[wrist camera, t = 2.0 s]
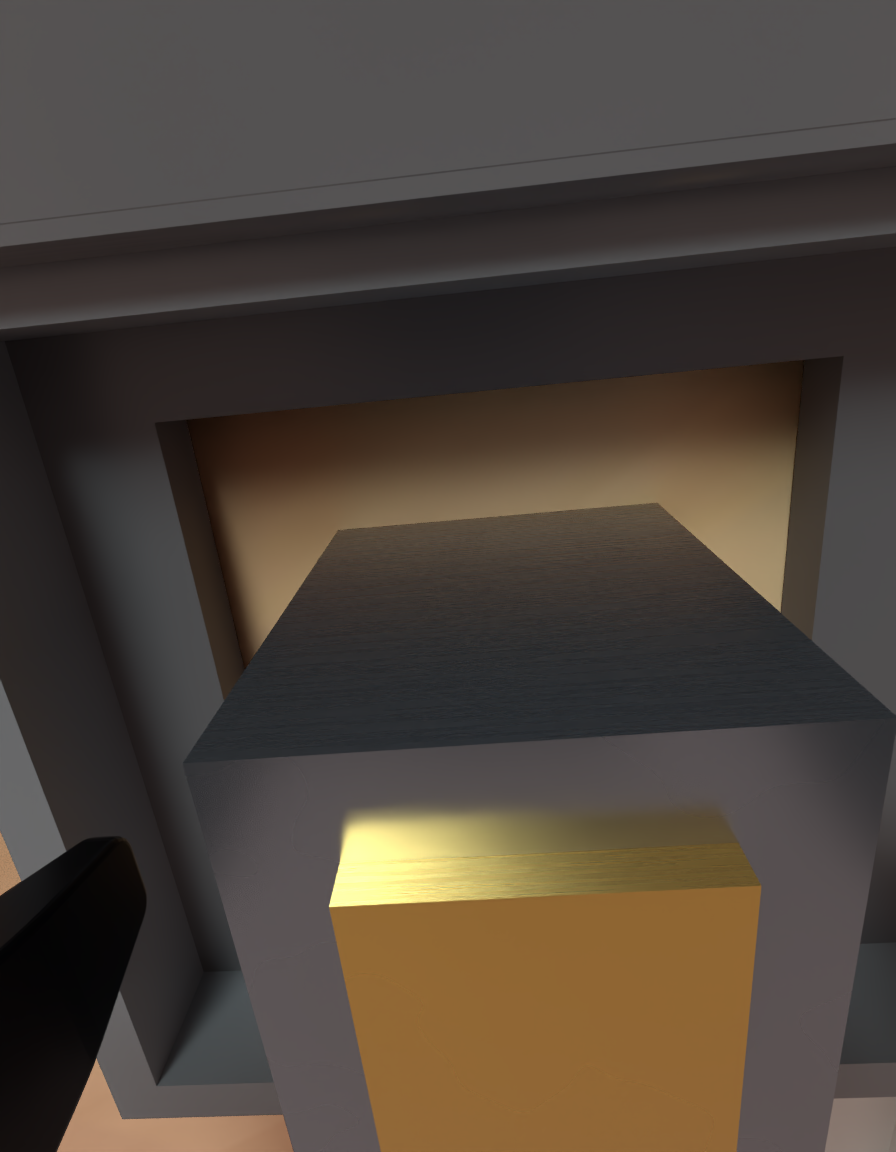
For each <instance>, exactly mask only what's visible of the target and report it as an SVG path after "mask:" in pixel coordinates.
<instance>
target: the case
mask: <svg viewBox="0 0 896 1152" xmlns="http://www.w3.org/2000/svg"><path fill="white" fill-rule="evenodd" d="M797 360H804V370H803V381H802V391H801V402H800V413H799V424H798V435H797V446H796V457H795V467H794V478H793V489H792V500H791V511H790V522H789V533H788V543H787V554H786V565H785V576H784V587H783V598H782V609H781V614H782V615H784V616H785V617H786V618H787V619H788V620H789V621H790V622H791V623H793V624H794V625H795V626H796V627H797V628H798V629H799V630H800V631H802V632H803V633H804V634H805V635H806V636H807V637H808V638H809V639H811V640H812V641H813V642H814V643H815V644H816V645H817V646H818V647H819V648H821V649H822V650H823V651H824V652H825V653H826V654H827V655H828V656H830V657H831V658H832V659H833V660H834V661H835V662H836V663H837V664H839V665H840V666H841V667H842V668H843V669H844V670H845V671H846V672H848V673H849V674H850V675H851V676H852V677H853V678H854V679H855V680H857V681H858V682H859V683H860V684H861V685H862V686H863V687H864V688H865V689H867V690H868V691H869V692H870V693H871V694H872V695H873V696H874V697H876V698H877V699H878V700H879V701H880V702H881V703H882V704H883V705H885V706H886V707H887V708H888V709H889V710H890V711H891V712H892V713H894V714H895V715H896V0H0V831H1V834H2V836H3V838H4V841H5V843H6V845H7V848H8V850H9V853H10V855H11V857H12V860H13V862H14V864H15V867H16V869H17V871H18V874H19V876H20V879H21V881H23V880H24V879H26V878H27V877H29V876H30V875H32V874H33V873H35V872H36V871H38V870H39V869H41V868H42V867H44V866H45V865H47V864H48V863H50V862H51V861H53V860H54V859H56V858H57V857H59V856H60V855H62V854H63V853H64V852H66V851H67V850H69V849H70V848H72V847H73V846H75V845H76V844H78V843H79V842H81V841H83V840H85V839H87V838H92V837H107V836H121V837H124V838H126V839H127V840H128V841H129V842H130V844H131V847H132V850H133V852H134V855H135V858H136V861H137V864H138V867H139V870H140V873H141V876H142V879H143V882H144V885H145V888H146V893H147V907H146V913H145V917H144V920H143V923H142V926H141V929H140V932H139V935H138V938H137V941H136V944H135V947H134V949H133V952H132V955H131V958H130V961H129V964H128V967H127V970H126V973H125V976H124V979H123V982H122V985H121V988H120V991H119V994H118V997H117V1000H116V1003H115V1006H114V1009H113V1012H112V1015H111V1018H110V1021H109V1024H108V1027H107V1030H106V1032H105V1035H104V1038H103V1041H102V1044H101V1047H100V1049H99V1052H98V1055H97V1060H98V1063H99V1065H100V1068H101V1070H102V1072H103V1075H104V1077H105V1079H106V1082H107V1084H108V1086H109V1089H110V1091H111V1094H112V1096H113V1098H114V1101H115V1103H116V1105H117V1108H118V1110H119V1112H120V1115H121V1117H122V1119H145V1118H179V1117H214V1116H249V1115H283V1112H282V1109H281V1105H280V1102H279V1098H278V1095H277V1091H276V1088H275V1084H274V1081H273V1077H272V1074H271V1070H270V1067H269V1064H268V1060H267V1057H266V1053H265V1050H264V1046H263V1043H262V1039H261V1036H260V1032H259V1029H258V1025H257V1022H256V1018H255V1015H254V1011H253V1008H252V1004H251V1001H250V997H249V994H248V990H247V987H246V983H245V980H244V976H243V973H242V969H241V966H240V962H239V959H238V955H237V952H236V948H235V945H234V942H233V938H232V935H231V931H230V928H229V924H228V921H227V917H226V914H225V910H224V907H223V903H222V900H221V896H220V893H219V889H218V886H217V882H216V879H215V875H214V872H213V868H212V865H211V861H210V858H209V854H208V851H207V847H206V844H205V840H204V837H203V833H202V830H201V827H200V823H199V820H198V816H197V813H196V809H195V806H194V802H193V799H192V795H191V792H190V788H189V785H188V781H187V778H186V774H185V771H184V767H183V764H182V763H183V762H184V760H185V759H186V757H187V756H188V754H189V753H190V751H191V750H192V748H193V747H194V745H195V744H196V742H197V741H198V739H199V738H200V736H201V735H202V733H203V732H204V730H205V729H206V727H207V726H208V724H209V723H210V721H211V720H212V718H213V717H214V715H215V714H216V712H217V711H218V709H219V708H220V706H221V705H222V703H223V702H224V700H225V699H226V697H227V696H228V694H229V693H230V691H231V690H232V688H233V687H234V685H235V684H236V682H237V681H238V679H239V678H240V676H241V675H242V673H243V672H244V665H243V661H242V657H241V653H240V648H239V644H238V640H237V635H236V631H235V627H234V622H233V618H232V614H231V610H230V605H229V601H228V597H227V592H226V588H225V584H224V579H223V575H222V571H221V567H220V562H219V558H218V554H217V549H216V545H215V541H214V536H213V532H212V528H211V523H210V519H209V515H208V511H207V506H206V502H205V498H204V493H203V489H202V485H201V480H200V476H199V472H198V468H197V463H196V459H195V455H194V450H193V446H192V442H191V437H190V433H189V429H188V425H187V419H197V418H208V417H218V416H228V415H239V414H249V413H259V412H270V411H280V410H290V409H301V408H311V407H321V406H332V405H342V404H352V403H363V402H373V401H384V400H394V399H404V398H415V397H425V396H435V395H446V394H456V393H466V392H477V391H487V390H497V389H508V388H518V387H528V386H539V385H549V384H559V383H570V382H580V381H590V380H601V379H611V378H621V377H632V376H642V375H652V374H663V373H673V372H683V371H694V370H704V369H714V368H725V367H735V366H745V365H756V364H766V363H776V362H787V361H797ZM872 1097H896V735H895V740H894V746H893V752H892V758H891V764H890V770H889V776H888V782H887V788H886V793H885V799H884V805H883V811H882V817H881V823H880V829H879V835H878V841H877V847H876V852H875V858H874V864H873V870H872V876H871V882H870V888H869V894H868V900H867V905H866V911H865V917H864V923H863V929H862V935H861V941H860V947H859V953H858V958H857V964H856V970H855V976H854V982H853V988H852V994H851V1000H850V1006H849V1011H848V1017H847V1023H846V1029H845V1035H844V1041H843V1047H842V1053H841V1059H840V1064H839V1070H838V1076H837V1082H836V1088H835V1094H834V1099H837V1098H872Z"/></svg>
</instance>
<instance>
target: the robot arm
mask: <svg viewBox="0 0 896 1152" xmlns="http://www.w3.org/2000/svg"><path fill="white" fill-rule="evenodd" d="M146 907H147V893H146V888H145V885H144V882H143V879H142V876H141V873H140V870H139V867H138V864H137V861H136V858H135V855H134V852H133V850H132V847H131V844H130V842H129V841H128V840H127V839H126V838H124V837H121V836H107V837H92V838H87V839H85V840H83V841H81V842H79V843H78V844H76V845H75V846H73V847H72V848H70V849H69V850H67V851H66V852H64V853H63V854H62V855H60V856H59V857H57V858H56V859H54V860H53V861H51V862H50V863H48V864H47V865H45V866H44V867H42V868H41V869H39V870H38V871H36V872H35V873H33V874H32V875H30V876H29V877H27V878H26V879H24V880H23V881H21V882H20V883H18V884H17V885H15V886H14V887H12V888H11V889H9V890H8V891H6V892H5V893H3V894H2V895H0V1152H57V1150H58V1148H59V1145H60V1143H61V1141H62V1138H63V1136H64V1134H65V1131H66V1129H67V1127H68V1125H69V1122H70V1120H71V1118H72V1115H73V1113H74V1111H75V1109H76V1106H77V1104H78V1102H79V1099H80V1097H81V1095H82V1092H83V1090H84V1088H85V1085H86V1083H87V1080H88V1078H89V1076H90V1073H91V1071H92V1068H93V1066H94V1063H95V1060H96V1058H97V1055H98V1052H99V1049H100V1047H101V1044H102V1041H103V1038H104V1035H105V1032H106V1030H107V1027H108V1024H109V1021H110V1018H111V1015H112V1012H113V1009H114V1006H115V1003H116V1000H117V997H118V994H119V991H120V988H121V985H122V982H123V979H124V976H125V973H126V970H127V967H128V964H129V961H130V958H131V955H132V952H133V949H134V947H135V944H136V941H137V938H138V935H139V932H140V929H141V926H142V923H143V920H144V917H145V913H146Z"/></svg>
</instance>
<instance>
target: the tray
mask: <svg viewBox="0 0 896 1152" xmlns="http://www.w3.org/2000/svg"><path fill="white" fill-rule="evenodd" d="M825 1152H896V1097H872V1098H837V1099H834V1100H833V1106H832V1112H831V1117H830V1123H829V1129H828V1135H827V1141H826V1147H825Z"/></svg>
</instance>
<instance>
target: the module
mask: <svg viewBox="0 0 896 1152" xmlns="http://www.w3.org/2000/svg"><path fill="white" fill-rule="evenodd" d="M895 735H896V715H895V714H894V713H892V712H891V711H890V710H889V709H888V708H887V707H886V706H885V705H883V704H882V703H881V702H880V701H879V700H878V699H877V698H876V697H874V696H873V695H872V694H871V693H870V692H869V691H868V690H867V689H865V688H864V687H863V686H862V685H861V684H860V683H859V682H858V681H857V680H855V679H854V678H853V677H852V676H851V675H850V674H849V673H848V672H846V671H845V670H844V669H843V668H842V667H841V666H840V665H839V664H837V663H836V662H835V661H834V660H833V659H832V658H831V657H830V656H828V655H827V654H826V653H825V652H824V651H823V650H822V649H821V648H819V647H818V646H817V645H816V644H815V643H814V642H813V641H812V640H811V639H809V638H808V637H807V636H806V635H805V634H804V633H803V632H802V631H800V630H799V629H798V628H797V627H796V626H795V625H794V624H793V623H791V622H790V621H789V620H788V619H787V618H786V617H785V616H784V615H782V614H781V613H780V612H779V611H778V610H777V609H776V608H775V607H773V606H772V605H771V604H770V603H769V602H768V601H767V600H766V599H764V598H763V597H762V596H761V595H760V594H759V593H758V592H757V591H756V590H754V589H753V588H752V587H751V586H750V585H749V584H748V583H747V582H745V581H744V580H743V579H742V578H741V577H740V576H739V575H738V574H736V573H735V572H734V571H733V570H732V569H731V568H730V567H729V566H727V565H726V564H725V563H724V562H723V561H722V560H721V559H720V558H718V557H717V556H716V555H715V554H714V553H713V552H712V551H711V550H710V549H708V548H707V547H706V546H705V545H704V544H703V543H702V542H701V541H699V540H698V539H697V538H696V537H695V536H694V535H693V534H692V533H690V532H689V531H688V530H687V529H686V528H685V527H684V526H683V525H681V524H680V523H679V522H678V521H677V520H676V519H675V518H674V517H672V516H671V515H670V514H669V513H668V512H667V511H666V510H665V509H664V508H662V507H661V506H660V505H659V504H658V503H651V504H639V505H627V506H616V507H604V508H592V509H581V510H569V511H557V512H546V513H534V514H522V515H511V516H499V517H487V518H476V519H464V520H452V521H441V522H429V523H417V524H406V525H394V526H382V527H371V528H359V529H347V530H338V531H337V533H336V534H335V536H334V537H333V539H332V540H331V542H330V543H329V545H328V546H327V548H326V549H325V551H324V552H323V554H322V555H321V557H320V558H319V560H318V561H317V563H316V564H315V566H314V567H313V569H312V570H311V572H310V573H309V575H308V576H307V578H306V579H305V581H304V582H303V584H302V585H301V587H300V588H299V590H298V591H297V593H296V594H295V596H294V597H293V599H292V600H291V602H290V603H289V605H288V606H287V608H286V609H285V611H284V612H283V614H282V615H281V617H280V618H279V620H278V621H277V623H276V624H275V626H274V627H273V629H272V630H271V632H270V633H269V635H268V636H267V638H266V639H265V641H264V642H263V644H262V645H261V647H260V648H259V650H258V651H257V652H256V654H255V655H254V657H253V658H252V660H251V661H250V663H249V664H248V666H247V667H246V669H245V670H244V672H243V673H242V675H241V676H240V678H239V679H238V681H237V682H236V684H235V685H234V687H233V688H232V690H231V691H230V693H229V694H228V696H227V697H226V699H225V700H224V702H223V703H222V705H221V706H220V708H219V709H218V711H217V712H216V714H215V715H214V717H213V718H212V720H211V721H210V723H209V724H208V726H207V727H206V729H205V730H204V732H203V733H202V735H201V736H200V738H199V739H198V741H197V742H196V744H195V745H194V747H193V748H192V750H191V751H190V753H189V754H188V756H187V757H186V759H185V760H184V762H183V763H182V764H183V767H184V771H185V774H186V778H187V781H188V785H189V788H190V792H191V795H192V799H193V802H194V806H195V809H196V813H197V816H198V820H199V823H200V827H201V830H202V833H203V837H204V840H205V844H206V847H207V851H208V854H209V858H210V861H211V865H212V868H213V872H214V875H215V879H216V882H217V886H218V889H219V893H220V896H221V900H222V903H223V907H224V910H225V914H226V917H227V921H228V924H229V928H230V931H231V935H232V938H233V942H234V945H235V948H236V952H237V955H238V959H239V962H240V966H241V969H242V973H243V976H244V980H245V983H246V987H247V990H248V994H249V997H250V1001H251V1004H252V1008H253V1011H254V1015H255V1018H256V1022H257V1025H258V1029H259V1032H260V1036H261V1039H262V1043H263V1046H264V1050H265V1053H266V1057H267V1060H268V1064H269V1067H270V1070H271V1074H272V1077H273V1081H274V1084H275V1088H276V1091H277V1095H278V1098H279V1102H280V1105H281V1109H282V1112H283V1116H284V1119H285V1123H286V1126H287V1130H288V1133H289V1137H290V1140H291V1144H292V1147H293V1151H294V1152H825V1147H826V1141H827V1135H828V1129H829V1123H830V1117H831V1112H832V1106H833V1100H834V1094H835V1088H836V1082H837V1076H838V1070H839V1064H840V1059H841V1053H842V1047H843V1041H844V1035H845V1029H846V1023H847V1017H848V1011H849V1006H850V1000H851V994H852V988H853V982H854V976H855V970H856V964H857V958H858V953H859V947H860V941H861V935H862V929H863V923H864V917H865V911H866V905H867V900H868V894H869V888H870V882H871V876H872V870H873V864H874V858H875V852H876V847H877V841H878V835H879V829H880V823H881V817H882V811H883V805H884V799H885V793H886V788H887V782H888V776H889V770H890V764H891V758H892V752H893V746H894V740H895Z"/></svg>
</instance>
